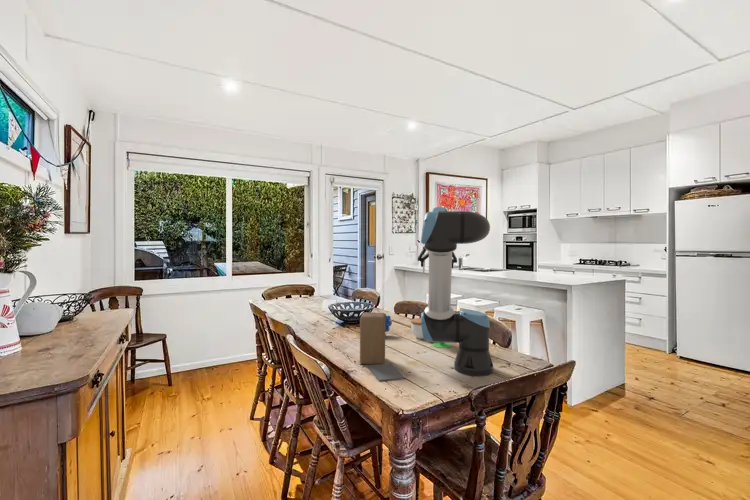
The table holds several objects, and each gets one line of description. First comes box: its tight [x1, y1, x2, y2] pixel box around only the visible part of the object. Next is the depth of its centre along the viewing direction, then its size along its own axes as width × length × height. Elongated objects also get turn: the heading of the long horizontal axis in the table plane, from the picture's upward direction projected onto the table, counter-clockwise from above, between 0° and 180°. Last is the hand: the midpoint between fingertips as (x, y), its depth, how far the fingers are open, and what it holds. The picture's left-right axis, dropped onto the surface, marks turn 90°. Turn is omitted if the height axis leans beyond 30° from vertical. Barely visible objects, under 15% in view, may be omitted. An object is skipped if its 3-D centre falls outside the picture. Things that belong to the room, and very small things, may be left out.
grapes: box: [385, 313, 393, 333], centre depth 200 cm, size 12×7×12 cm, turn 111°
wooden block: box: [359, 311, 386, 365], centre depth 157 cm, size 10×10×20 cm
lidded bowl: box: [410, 317, 425, 340], centre depth 196 cm, size 13×13×11 cm
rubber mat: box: [367, 363, 406, 382], centre depth 144 cm, size 16×10×1 cm, turn 16°
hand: (436, 272), depth 197 cm, fingers open, 13 cm apart
